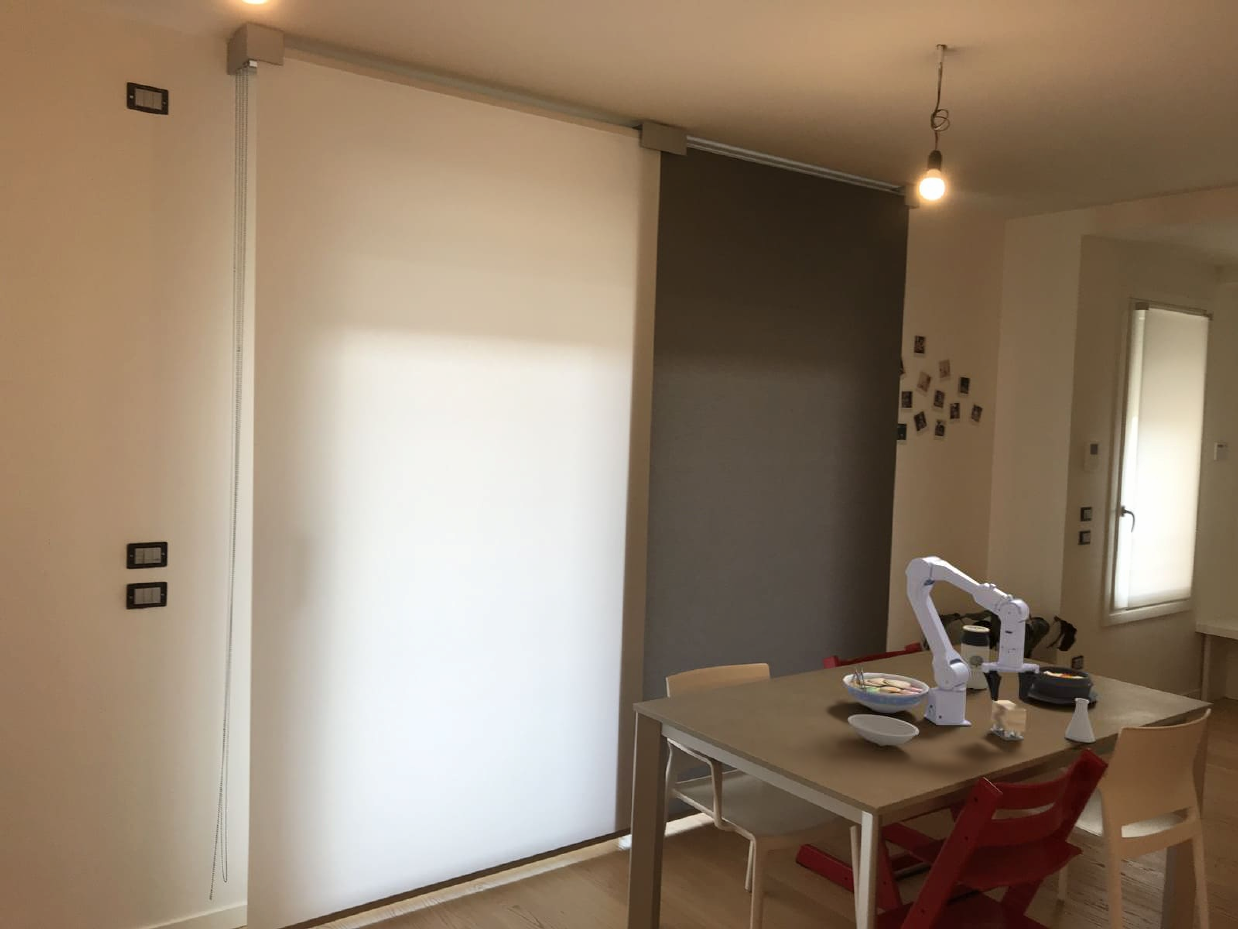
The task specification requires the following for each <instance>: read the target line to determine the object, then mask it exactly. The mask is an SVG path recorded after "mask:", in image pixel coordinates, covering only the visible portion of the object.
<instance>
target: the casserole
mask: <svg viewBox="0 0 1238 929" xmlns="http://www.w3.org/2000/svg"><path fill="white" fill-rule="evenodd" d="M1035 674H1036V675H1037V680H1036V681H1035V682H1034V683H1033V685H1032V687H1031V688H1030V691H1029V693H1028V696H1027V698H1028V697H1029V698H1031V699H1033V700H1037V701H1042V702H1047V703H1051V704H1056V705H1063V704H1064V705H1063V706H1065V705H1066V706H1076V701H1075V699H1077V698H1080V699H1085V700H1088V701H1089V704H1090V703H1094V702H1096V701H1097V697H1098V695H1099V693H1097V692H1096V691H1094V690H1091V689H1092V687H1093V686H1094V685H1095V683H1094V681H1093V680H1092V677H1091V674H1089V673H1088V672H1085V671H1083V670H1079V669H1074V668H1070V667H1065V666H1064V667H1063V666H1057V665H1056V666H1053V665H1043V666H1042V665H1041V666H1039V673H1035Z"/></svg>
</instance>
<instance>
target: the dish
mask: <svg viewBox="0 0 1238 929" xmlns="http://www.w3.org/2000/svg"><path fill="white" fill-rule="evenodd" d="M847 722H848V723H849V725H851V726H852V727H853V729H854V730H855V732H856V733H858V734H859V735H860V736H861V737H863V739H865V740H866V741H869V742H872V743H875V744H877V745H878V746H880V747H885V746H897V745H901V744H904V743H907V742H909V741H910V740H911V739H913V737H915V736H918V735H919V733H920V730H919V729H918V727H917V726H915V725H913V724H911V723H909V722H906V721H904V720H901V719H899V718H894V717H889V716H883V715H878V714H877V715H876V714H853V715H851V716H849V717H848V718H847Z"/></svg>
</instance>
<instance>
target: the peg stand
mask: <svg viewBox="0 0 1238 929" xmlns="http://www.w3.org/2000/svg"><path fill="white" fill-rule="evenodd" d="M989 731H990V732H991V733H993V734H994V733H995V734H994V735H996V736H998V737H999V736H1000V738H1001V739H1003V740H1004V739H1005V740H1004V741H1024V739H1025V738H1024V737H1023V736H1022V735H1021V732H1008V731H1007V730H1005V729H1003V728H1001V727H1000V726H998V725H997V724H995V723H993V728H989ZM1012 739H1013V740H1012ZM1018 739H1019V740H1018Z"/></svg>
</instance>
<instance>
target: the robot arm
mask: <svg viewBox="0 0 1238 929" xmlns="http://www.w3.org/2000/svg"><path fill="white" fill-rule="evenodd" d="M906 567H907V568H906V569H905V572H904V573H905V575H906V578H907V579H906V580H907V581H906V595H907V597H908V598H907V599H908V600H909V602H910V605H911V608H913V611H914V613H915V616H916V619H917V621H918V623H919V625H920V628H921V630H922V632H923V634H924V637H925V638H926V641H927V642H926V643H927V644H928V646H929V648H930V650H931V654H932V656H933V658H932V661H931V662H932V663H931V665H932V668H933V677H934V681H935V683H936V684H937V686H936V687H931V688H930V687H929V689H928V691H927V693H926V702H925V703H926V704H925V714H924V715H923V716H924V717H925V718H926V719H927V720H929V721H931V722H932V723H933V724H935V725H937V726H972V723H971V722H969V721H968V720H967V719H965V718H966V717H965V716H966V702H967V701H966V698H967V688H966V682H968V681H969V679H970V677H971V671H970V668H969V666H968V665H967V664H966V663H965V662H964V661H963V660H962V658H961V653H958V651H956V650H955V649H954V648H953V646H952V644H951V641H950V638H949V637H948V634H947V632H946V629H945V627H944V625H943V623H942V621H941V618H940V616H939V615H938V612H937V610H936V607H935V605H934V602H933V600H932V597H931V596H930V592H931V590H932V589H933V586H934V584H935V583H936V582H937V581H947V582H949V583H950V584H952V585H954V586H956V587H957V588H960V589H961V590H964V591H965V592H967V593H969V594H971V595H972V596H973V597H972V598H973V599H974V601H975V603H977V604H979V605H980V606H982V607H983V608H985V609H987V610H988V611H990V612H992V613H993V614H995V615H997V616H998V618H999V620H1000V623H1001V624H1000V633H999V634H1000V635H999V651H998V661H996V662H995V661H994V662H988V663H982V671H983V674H984V676H985V678H986V681H987V687H988V690H989V695H990V700H991V701H992V700H994V701H998V700H999V695H1000V694H999V691H1000V686H1001V681H1002V678H1003V676H1001V675H999V673H1017V676H1018V700H1019V701H1022V702H1024V703H1025V702H1026V701H1027V698H1028V693H1029V691H1030V688H1031V687H1032V685H1034V684H1033V683H1034V682H1035V681H1036V680H1037V675H1036V674H1035V673H1039V667H1040V666H1039V665H1038V664H1035V663H1026V662H1025V663H1024V652H1025V636H1026V635H1025V634H1026V620H1027V619H1028V618H1029V616H1030V607H1029V606H1028V604H1027V603H1026V602H1025V601H1024V600H1023V599H1021V598H1013V595H1011V594H1006V593H1005V592H1003V591H1001V590H999V589H998V588H996V587H997V585H996V584H993V583H982V584H980V583H978V582H977V581H975V579H972V578H971V577H970V576H968V575H966V574H965V573H964V572H962V571H960V570H959V569H958V568H956V567H955V566H952V565H951V564H950V563H948V562H947V561H946V560H943V559H941V558H939V557H937V556H933V555H932V556H931V555H930V556H927V557H920V558H919V557H917V558H914V559H912V560H911V561H910V562H909V564H908V566H906Z"/></svg>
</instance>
